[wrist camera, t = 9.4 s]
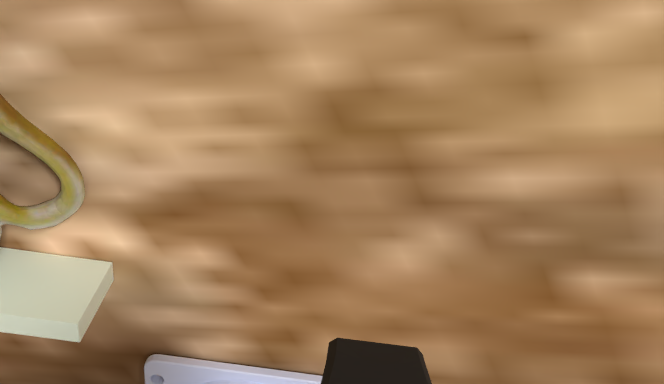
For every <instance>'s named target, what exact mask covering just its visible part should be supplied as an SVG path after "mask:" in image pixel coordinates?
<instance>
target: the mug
mask: <svg viewBox="0 0 664 384" xmlns="http://www.w3.org/2000/svg"><path fill="white" fill-rule="evenodd" d="M0 133H1V134H3V135H4V136H5V137H7V138H9V139H10V140H12V141H14V142H16V143H17V144H19V145H21V146H22V147H24V148H25V149H26V150H28V151H29V152H31V153H33V154H34V155H35V156H37V157H38V158H39V159H40V160H42V161H43V162H45V163H46V164H47V165H48V166H49V167H50V168H51V169H52V170H53V171H54V172H55V173H56V175H57V176H58V177H59V179H60V182H61V191H60V193H59V194H58V196H56V197H55V198H53V199H51V200H49V201H46V202H43V203H41V204H38V205H33V206H17V205H14V204H12V203H10V202H9V201H7V200H6V199H5V198H4V197H3V196H2V195H1V194H0V238H1V234H2V225H4V224H10V225H15V226H20V227H24V228H27V229H30V230H33V229H42V228H47V227H52V226H56V225H57V224H59V223H61V222H62V221H64V220H65V219H67V218H69V217H70V216H71V215H72V214H74V213H75V212H76V211H77V210H78V209H79V207H80V206H81V205H82V202H83V199H84V197H85V189H84V181H83V177H82V174H81V172H80V170H79V168H78V166H77V165H76V163H75V162H74V160H73V159H72V158H71V156H70V155H69V154H68V153H67V152H66V151H65V150H64V149H63V148H62V147H60V146H59V145H58V144H57V143H56V142H55V141H54V140H53V139H51V138H50V137H49V136H47V135H46V134H45V133H43V132H42V131H41V130H40V129H38V128H37V127H36V126H34V125H33V124H32V123H30V122H29V121H28V120H27V119H25V118H24V117H23V116H22V115H21V114H20V113H19V112H18V111H16V110H15V109H14V108H13V107H12V106H11V105H10V104H9V103H8V102H7V101H6V100H5V99H4V98H3V96H2V95H1V94H0Z"/></svg>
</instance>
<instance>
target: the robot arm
mask: <svg viewBox="0 0 664 384" xmlns="http://www.w3.org/2000/svg"><path fill="white" fill-rule="evenodd" d="M159 375H160V376H159ZM144 377H145V384H432V383H431V380H430V377H429V374H428V371H427V368H426V365H425V361H424V358H423V354H422V353H421V352H420V351H419V350H418V348H415V347H407V346H399V345H391V344H383V343H375V342H367V341H359V340H351V339H343V338H336V339H334V340H333V341H331V342H329V347H328V353H327V360H326V365H325V369H324V373H323V376H320V375H313V374H305V373H297V372H290V371H282V370H275V369H267V368H260V367H252V366H245V365H237V364H230V363H222V362H215V361H207V360H200V359H192V358H185V357H177V356H169V355H162V354H154V355H151V356H149V357H148V358H147V360H146V363H145V366H144Z"/></svg>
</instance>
